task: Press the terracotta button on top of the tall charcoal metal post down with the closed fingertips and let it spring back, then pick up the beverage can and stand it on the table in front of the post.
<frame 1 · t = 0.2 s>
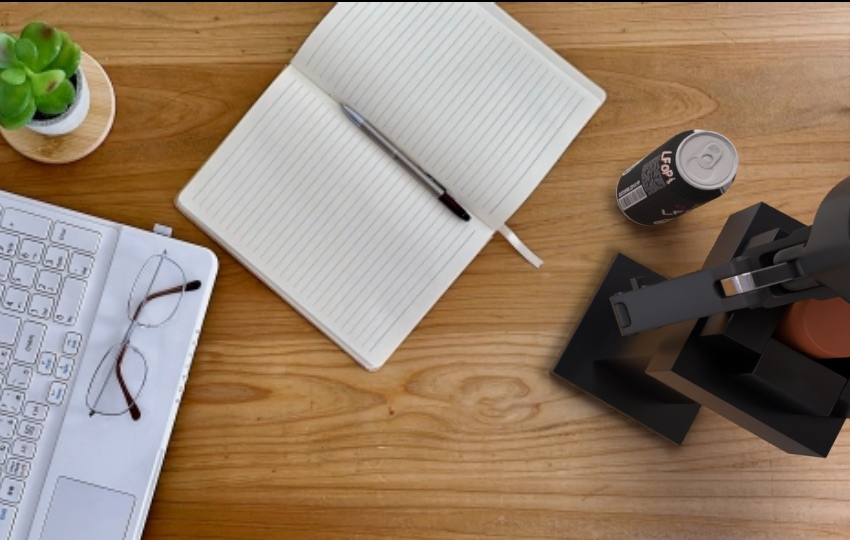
hand: (717, 288, 59), 15 cm above the table, tool pointing down, fingers open, 13 cm apart
beverage can: (644, 196, 76), on the table
button post: (793, 326, 51), on the table
button: (823, 322, 48), point 26 cm above the table, slide at 0.1 cm
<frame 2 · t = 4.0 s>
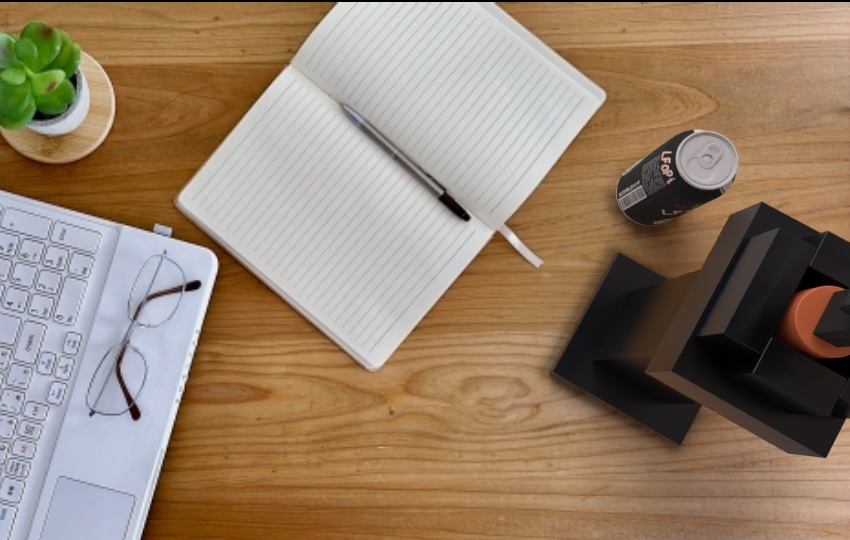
hand: (835, 319, 47), 27 cm above the table, tool pointing down, fingers closed
button: (814, 323, 49), point 25 cm above the table, slide at -0.7 cm, touching gripper
everything else where it was.
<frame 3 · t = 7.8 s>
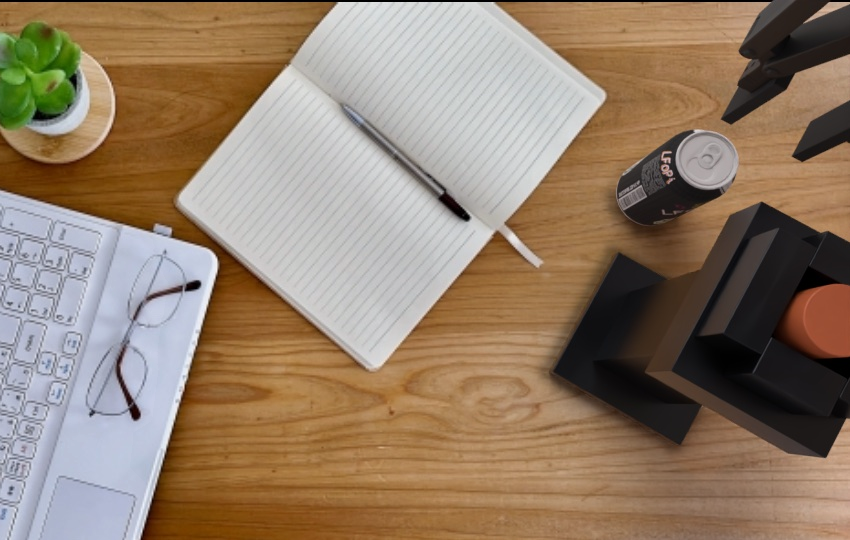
hand: (770, 122, 55), 21 cm above the table, tool pointing down, fingers open, 4 cm apart
button: (823, 322, 48), point 26 cm above the table, slide at 0.1 cm
everything else where it was.
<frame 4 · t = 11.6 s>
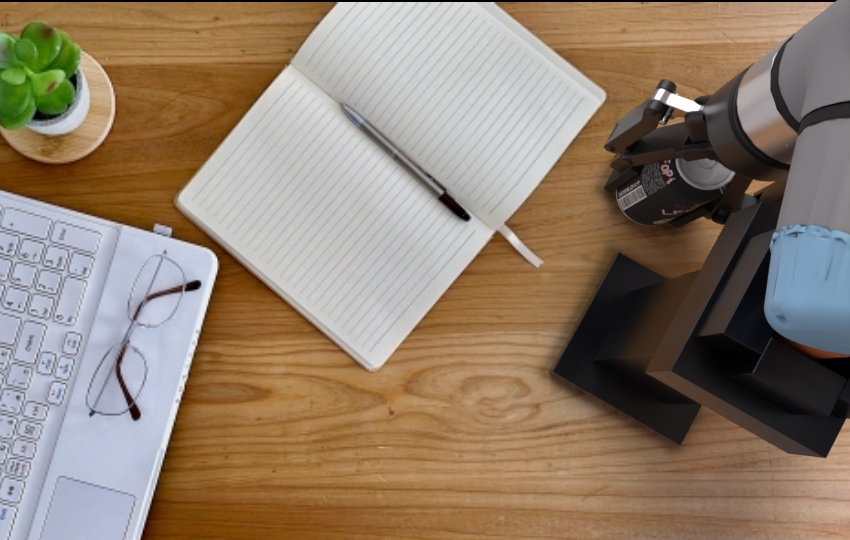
hand: (647, 195, 76), 0 cm above the table, tool pointing down, fingers closed on beverage can, 6 cm apart
beverage can: (644, 196, 76), on the table, touching gripper
everything else where it was.
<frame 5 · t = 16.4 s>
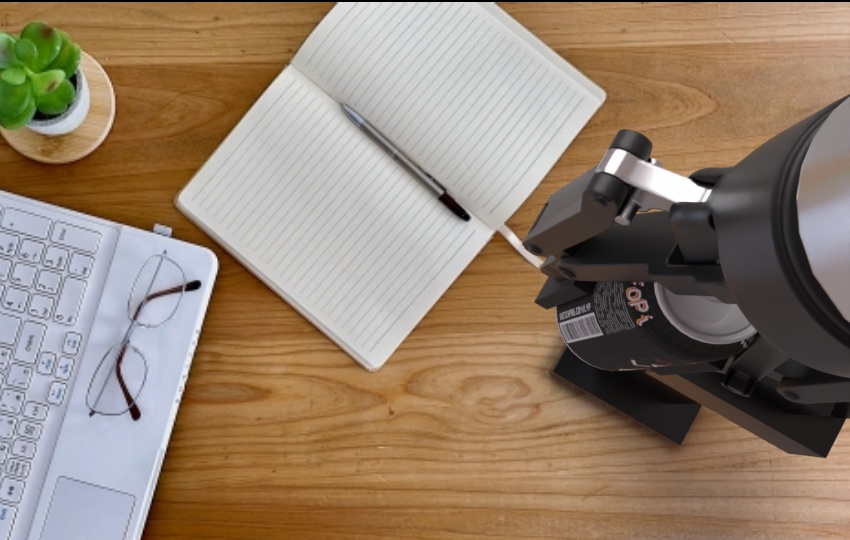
hand: (609, 315, 44), 31 cm above the table, tool pointing down, fingers closed on beverage can, 6 cm apart
beverage can: (606, 316, 44), point 31 cm above the table, touching gripper
everything else where it was.
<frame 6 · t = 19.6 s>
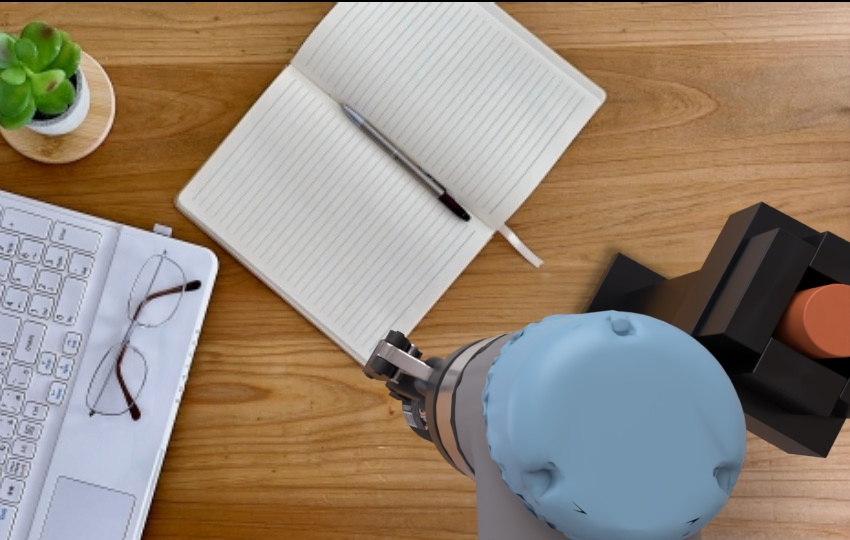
hand: (439, 404, 64), 10 cm above the table, tool pointing down, fingers closed on beverage can, 6 cm apart
beverage can: (438, 403, 64), point 10 cm above the table, touching gripper
everything else where it was.
when the fingers open (0 cm above the table, at t = 21.6 s): beverage can stays where it is, on the table.
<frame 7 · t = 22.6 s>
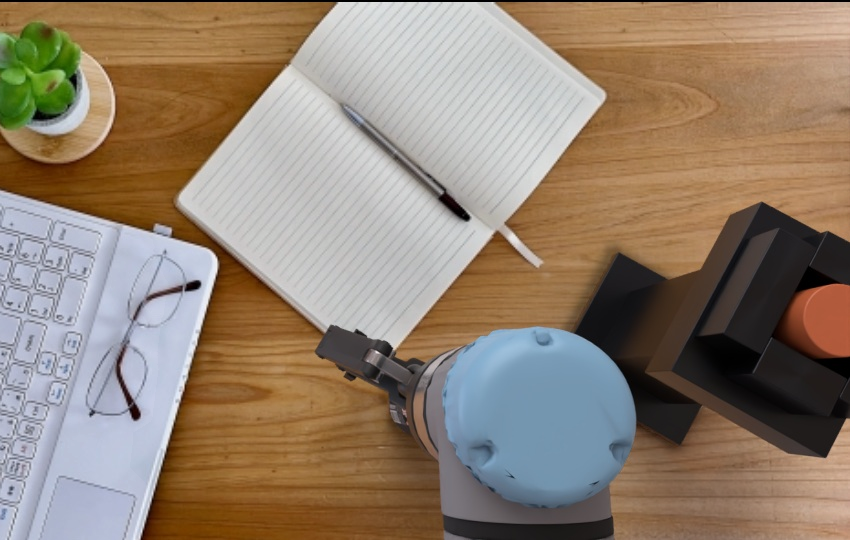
hand: (426, 407, 71), 3 cm above the table, tool pointing down, fingers open, 13 cm apart
beverage can: (421, 403, 74), on the table
everything else where it was.
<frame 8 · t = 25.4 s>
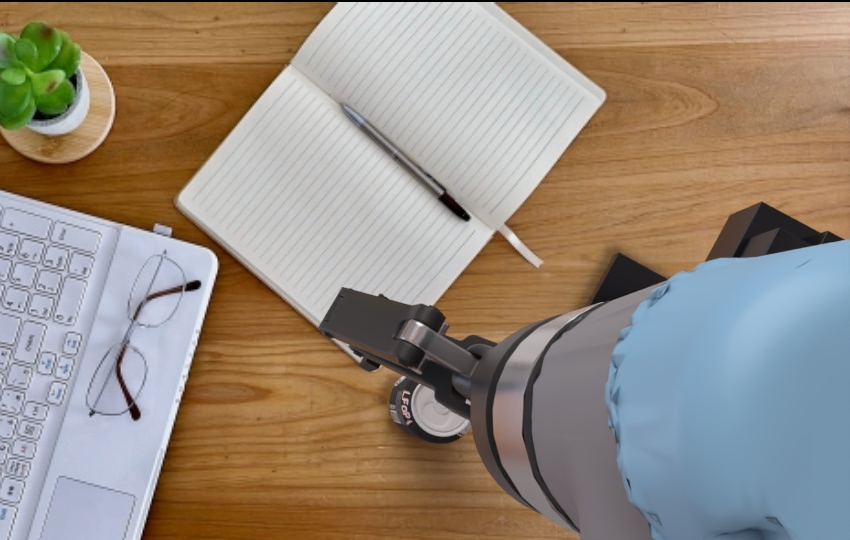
hand: (477, 409, 50), 25 cm above the table, tool pointing down, fingers open, 13 cm apart
nothing on the table moved.
at the end: button pushed in 0.9 cm at the most during the clip, back to where it started at the end; button slide at 0.1 cm; beverage can inside the target area (0.1 cm from its centre), on the table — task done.
